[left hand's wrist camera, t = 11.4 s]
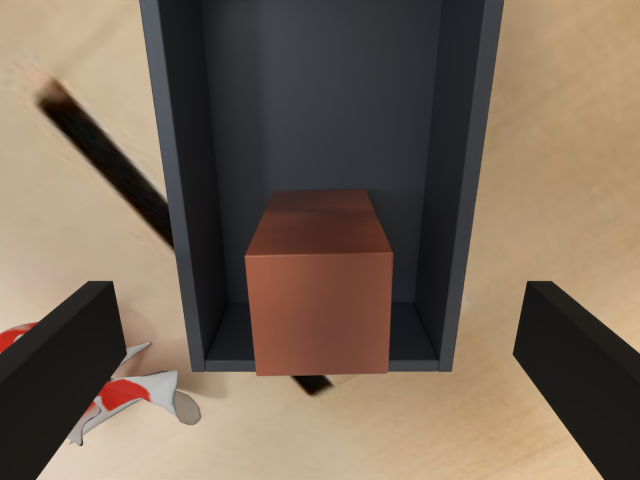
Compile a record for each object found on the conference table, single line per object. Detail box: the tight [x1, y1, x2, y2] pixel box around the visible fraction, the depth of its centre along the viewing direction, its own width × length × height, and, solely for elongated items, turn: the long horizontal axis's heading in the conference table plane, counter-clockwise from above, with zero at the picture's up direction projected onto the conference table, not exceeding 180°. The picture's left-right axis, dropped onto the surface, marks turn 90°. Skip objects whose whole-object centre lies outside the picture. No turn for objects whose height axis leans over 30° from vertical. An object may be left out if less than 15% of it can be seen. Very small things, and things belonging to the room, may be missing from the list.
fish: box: [0, 322, 201, 446], centre depth 31 cm, size 11×16×10 cm
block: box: [245, 189, 393, 376], centre depth 17 cm, size 4×4×8 cm
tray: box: [139, 0, 504, 372], centre depth 15 cm, size 11×25×6 cm, turn 0°
